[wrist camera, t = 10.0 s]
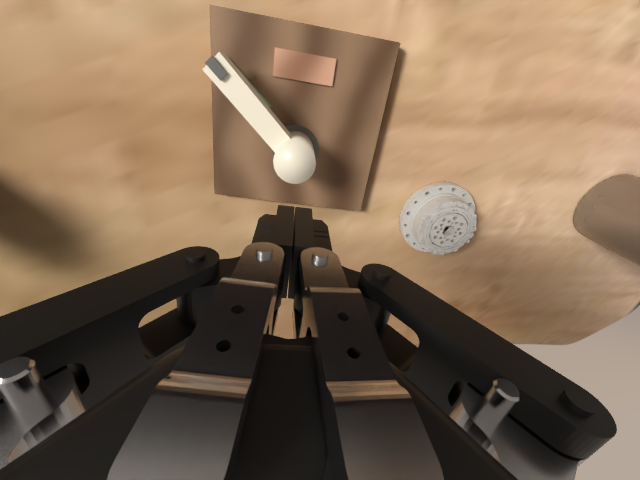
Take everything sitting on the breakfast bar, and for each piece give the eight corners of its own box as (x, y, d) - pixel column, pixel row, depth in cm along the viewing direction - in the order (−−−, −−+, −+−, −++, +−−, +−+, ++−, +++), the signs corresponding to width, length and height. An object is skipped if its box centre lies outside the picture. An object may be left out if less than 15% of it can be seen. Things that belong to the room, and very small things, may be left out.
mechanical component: (449, 252, 43) (483, 190, 38) (464, 270, 39) (504, 203, 34) (387, 239, 41) (416, 173, 36) (396, 256, 37) (430, 184, 32)
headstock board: (395, 44, 29) (401, 42, 28) (358, 206, 38) (360, 212, 36) (212, 8, 27) (206, 3, 25) (216, 189, 35) (212, 194, 34)
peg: (238, 47, 27) (223, 39, 22) (320, 152, 32) (324, 166, 27) (209, 77, 28) (188, 77, 23) (293, 174, 33) (292, 191, 28)
